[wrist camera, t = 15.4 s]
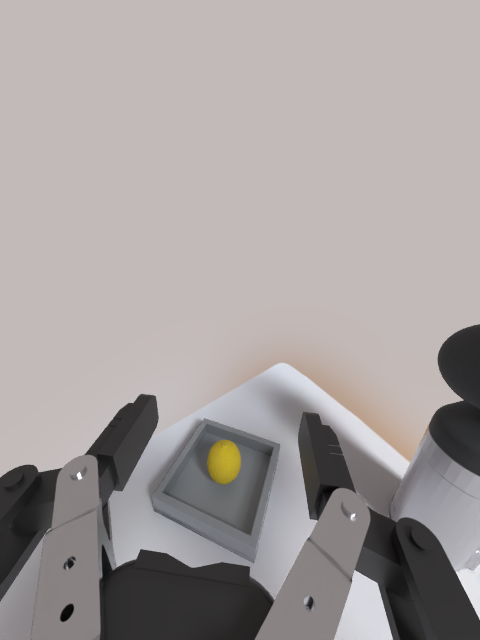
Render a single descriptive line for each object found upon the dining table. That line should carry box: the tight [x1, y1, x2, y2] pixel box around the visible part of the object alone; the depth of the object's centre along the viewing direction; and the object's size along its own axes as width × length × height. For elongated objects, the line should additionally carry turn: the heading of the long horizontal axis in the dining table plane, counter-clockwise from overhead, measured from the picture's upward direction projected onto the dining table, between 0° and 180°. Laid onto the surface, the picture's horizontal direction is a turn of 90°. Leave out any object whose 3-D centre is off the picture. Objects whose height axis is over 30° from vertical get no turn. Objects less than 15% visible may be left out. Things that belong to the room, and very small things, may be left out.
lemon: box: [207, 440, 241, 485], centre depth 37 cm, size 6×6×8 cm
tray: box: [152, 418, 280, 563], centre depth 39 cm, size 16×16×4 cm
